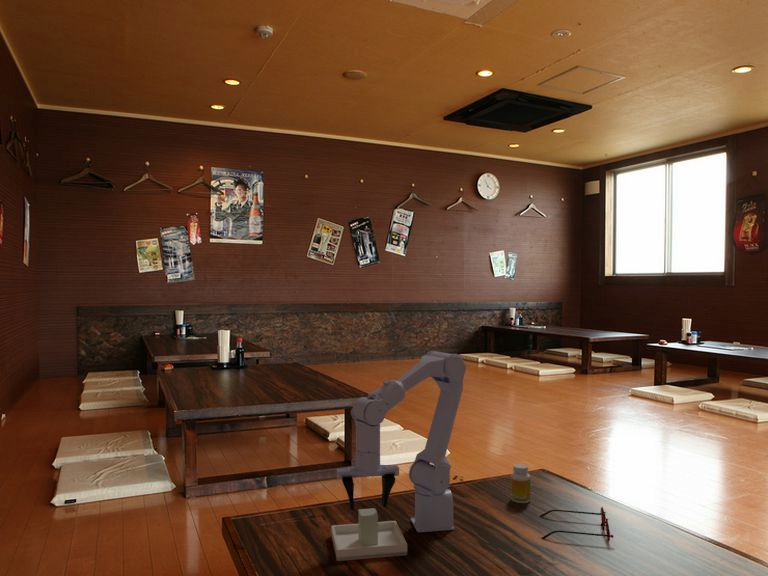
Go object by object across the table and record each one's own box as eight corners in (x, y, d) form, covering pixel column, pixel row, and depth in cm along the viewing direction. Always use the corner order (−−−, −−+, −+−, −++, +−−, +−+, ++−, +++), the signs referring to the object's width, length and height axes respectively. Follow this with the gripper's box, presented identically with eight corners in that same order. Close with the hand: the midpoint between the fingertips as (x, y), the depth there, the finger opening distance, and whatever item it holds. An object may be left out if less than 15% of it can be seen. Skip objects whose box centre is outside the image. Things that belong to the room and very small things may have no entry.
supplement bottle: (530, 504, 161) (530, 469, 161) (510, 502, 162) (511, 468, 162) (529, 497, 166) (529, 463, 166) (510, 495, 168) (510, 462, 167)
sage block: (374, 537, 138) (375, 508, 138) (377, 544, 135) (378, 514, 134) (358, 538, 138) (358, 509, 138) (360, 546, 134) (361, 516, 134)
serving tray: (395, 530, 144) (395, 520, 144) (407, 555, 131) (407, 544, 131) (331, 535, 141) (331, 525, 141) (336, 561, 128) (336, 550, 128)
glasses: (613, 547, 136) (613, 526, 136) (540, 540, 140) (541, 520, 140) (605, 523, 149) (605, 504, 149) (539, 517, 153) (539, 498, 153)
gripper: (394, 443, 141) (394, 498, 141) (335, 446, 138) (335, 502, 139) (401, 451, 134) (401, 509, 134) (338, 455, 132) (338, 514, 132)
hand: (368, 507), depth 136 cm, fingers open, 7 cm apart
